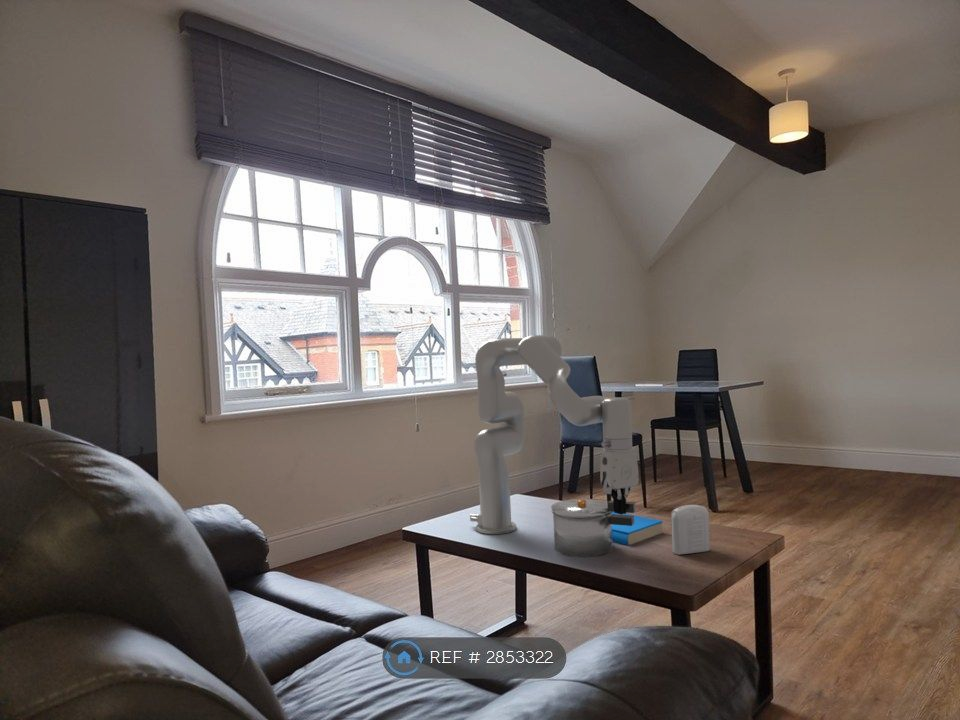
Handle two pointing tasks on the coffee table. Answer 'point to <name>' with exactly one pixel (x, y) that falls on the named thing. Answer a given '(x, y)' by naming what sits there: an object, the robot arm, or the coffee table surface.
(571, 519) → the cooker pot
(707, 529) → the white arched block
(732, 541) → the coffee table surface
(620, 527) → the book
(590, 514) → the lid
